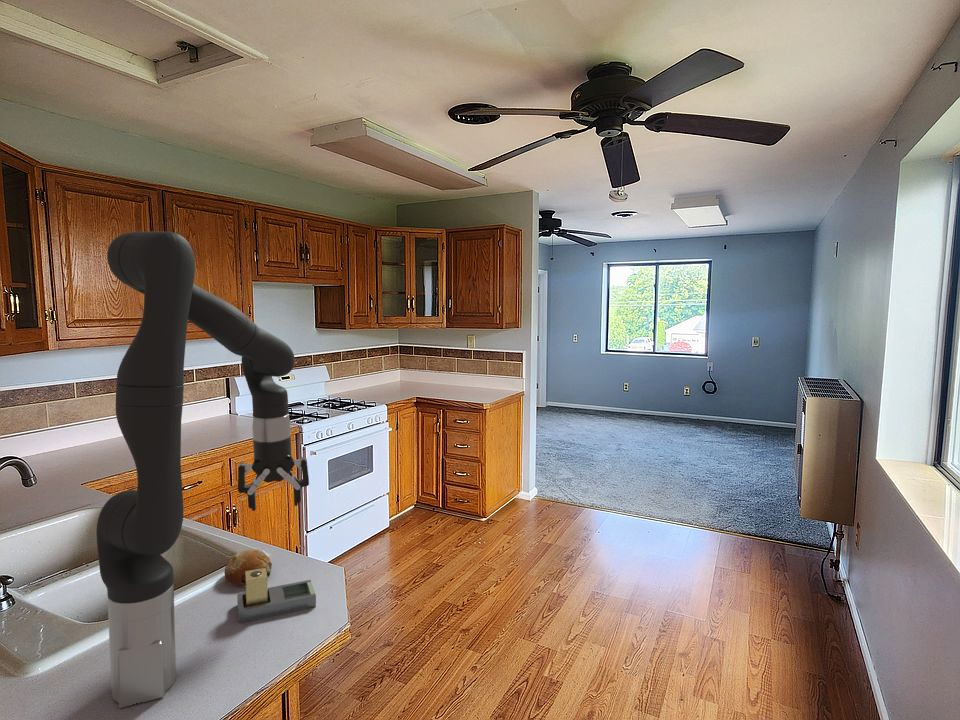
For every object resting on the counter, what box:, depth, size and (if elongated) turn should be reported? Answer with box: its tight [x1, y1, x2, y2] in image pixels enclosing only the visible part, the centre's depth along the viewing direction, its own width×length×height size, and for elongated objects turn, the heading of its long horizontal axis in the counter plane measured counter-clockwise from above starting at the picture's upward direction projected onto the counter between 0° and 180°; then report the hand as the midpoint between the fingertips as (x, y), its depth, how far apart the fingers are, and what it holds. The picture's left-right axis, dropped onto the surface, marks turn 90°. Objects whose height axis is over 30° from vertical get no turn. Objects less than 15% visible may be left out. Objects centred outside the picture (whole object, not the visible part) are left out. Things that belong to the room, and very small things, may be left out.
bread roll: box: [224, 548, 273, 588], centre depth 126 cm, size 10×10×8 cm
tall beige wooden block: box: [244, 568, 269, 608], centre depth 113 cm, size 4×4×8 cm
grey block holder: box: [236, 579, 317, 624], centre depth 115 cm, size 7×15×2 cm, turn 116°
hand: (275, 506), depth 117 cm, fingers open, 8 cm apart
